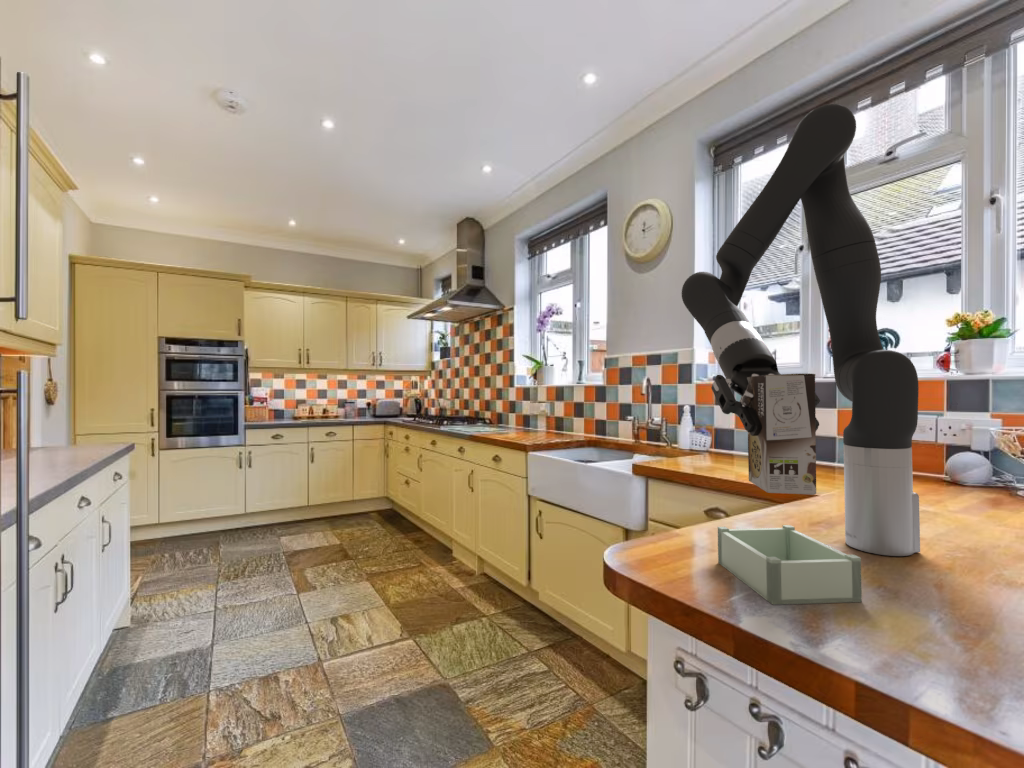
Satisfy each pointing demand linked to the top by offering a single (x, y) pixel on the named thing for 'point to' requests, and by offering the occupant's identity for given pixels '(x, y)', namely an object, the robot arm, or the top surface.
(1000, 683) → the top surface
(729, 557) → the crate
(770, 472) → the coffee box
